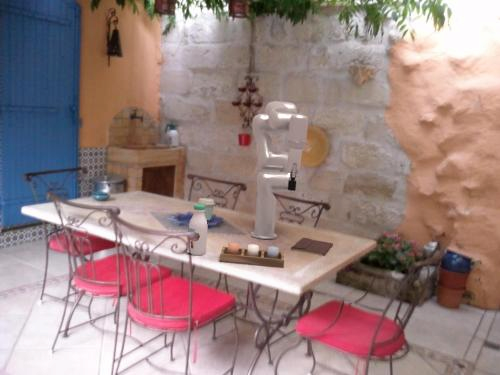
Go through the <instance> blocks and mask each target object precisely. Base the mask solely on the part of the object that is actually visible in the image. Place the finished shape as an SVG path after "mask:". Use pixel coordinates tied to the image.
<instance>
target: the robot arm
mask: <svg viewBox="0 0 500 375" xmlns="http://www.w3.org/2000/svg"><path fill="white" fill-rule="evenodd" d="M264 112H265V113H259V114H256V115H255V116H254V117H253V119H252V123H251V124H252V126H251V127H252V133H253V136H254V139H255V142H256V146H257V149H256V150H257V159H258V160H257V161H258V166H259V168H260V169H261V170H263V171H260V172H258V174H257V176H256V187H257V188H256V191H257V192H256V193H257V194H256V207H255V215H254V216H255V218H254V229H253V230H252V231H250V236H251V237H253V238H255V239H261V240H274V239H277V237H278V235H277V233H275V224H276V223H275V222H276V215H277V214H276V213H277V198H276V196H275V195H274V192H278V193H279V192H280V193H281V192H282V193H284V192H285V193H288V192H291V191H293V192H295V191H296V189H297V176H298V175H299V174H300V169H301V162H302V156H303V151H306V146H307V136H308V130H309V129H308V126H309V117H308V116H307V115H303V114H301V113H298V108H297V106H296V105H295V103H293V102H289V101H278V100H277V101H276V100H274V101H271V102H270V101H269V103H267V104H266V106H265V109H264ZM286 132H287V141H286V142H287V143H286V149H288V152H287V151H283V150H282V151H280V150H276V148H275V145H276V144H275V141H274V139H273V138H272V136H271V135H270V134H268V133H281V134H283V133H286Z"/></svg>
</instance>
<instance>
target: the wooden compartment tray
mask: <svg viewBox="0 0 500 375" xmlns="http://www.w3.org/2000/svg"><path fill="white" fill-rule="evenodd" d="M227 250H228V246H223V247H222V249H221V251H220V255H219V262H220V263H226V264H227V263H228V264H239V265H240V264H241V265H249V266H259V267H268V268H269V267H270V268H279V269H284V268H285V266H284V265H285V253H284V252H283V251H279V253H278V259H274V258H267V252H268V250H264V249H263V250H262V249H261V250H260V249H259V251H258V257H254V256H247V251H248V248H240V247H239V250H238V255H233V254H227Z"/></svg>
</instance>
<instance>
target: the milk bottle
mask: <svg viewBox="0 0 500 375" xmlns="http://www.w3.org/2000/svg"><path fill="white" fill-rule="evenodd" d="M204 211H205V205H202V204H199V203H196V204H194V205H193V214H192V217H191V218H190V219H189V224H188V229H187V233H188V232H196V233H199V235H200V238H199V240H198V241H196V242H193V241H191V242H190V243H191V254H192V256H203V255H205V254H206V252H207V241H208V229H209V228H208V224H207V220H206V218H205V214H204ZM191 254H190V255H191Z"/></svg>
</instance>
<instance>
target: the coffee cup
mask: <svg viewBox="0 0 500 375" xmlns="http://www.w3.org/2000/svg"><path fill="white" fill-rule="evenodd" d="M214 200H215V199H213V198H208V197H201V198H199V199H198V202H197V204H202V205H205V211H204V214H205V218H206V220H210V219H211V220H212V217H213V212H214V206H215V201H214Z"/></svg>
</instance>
